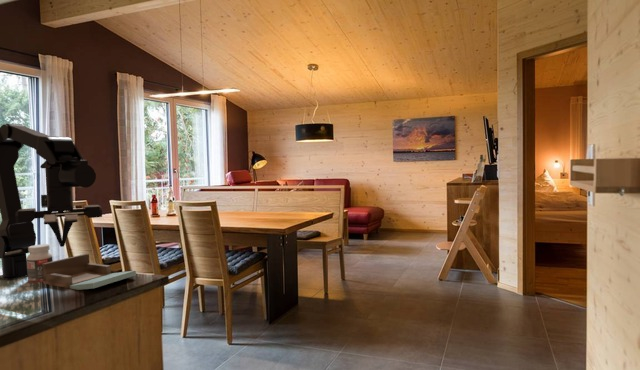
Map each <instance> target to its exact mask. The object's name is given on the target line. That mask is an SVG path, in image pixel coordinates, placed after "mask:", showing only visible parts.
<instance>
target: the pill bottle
mask: <svg viewBox="0 0 640 370" xmlns="http://www.w3.org/2000/svg"><path fill="white" fill-rule="evenodd" d="M50 249H51V247H50V244H49V243H46V244H45V243H43V244H42V243H41V244H35V245H34V246H30V247H28V251H29V252H30V253H29V254H28V255H26V258H27V273H28V276H27V283H29V284H36V283H37V284H38V283H43V270H42V264H43V263H48V262H52V261H54V260H53V254H52V253H51V252H49V250H50Z"/></svg>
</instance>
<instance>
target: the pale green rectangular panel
mask: <svg viewBox="0 0 640 370" xmlns="http://www.w3.org/2000/svg"><path fill="white" fill-rule="evenodd" d="M135 276H137V270H128V271H121V272H113V273H112V272H111V274H109V275H105V276H102V277H98V278H95V279H91V280H88V281H84V282H81V283H77V284H74V285H71V286H70V287H69V288H70V289H72V290H79V291H80V290H89V289H90V290H92V289H96V288H100V287H103V286H106V285H108V284H113V283H115V282H119V281H122V280H125V279H128V278H132V277H135Z"/></svg>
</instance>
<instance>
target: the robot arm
mask: <svg viewBox="0 0 640 370" xmlns="http://www.w3.org/2000/svg"><path fill="white" fill-rule="evenodd" d="M24 146H27V147H29V148H32V149H34V150H35V153H36V154H37V155H38V157H41V158H42V159H44V160H45V161H44V162H43V163H42V164H41V165H40V168H41V169H44V172H45V173H44V174H45V183H46V184H45V189H46V190H45V191H46V194H41V195H40V201H41V202H40V205H41V208H43V209H44V208H46V210H36V209H37V208H36V207H35V208H34V207H33V208H22V202H21V198H20V192H19V188H18V187H19V185H18V182H17V176H16V172H15V166H16V163H17V161H18V159H19V155H20V154H19V152H20V151H21V150H22V148H23V147H24ZM83 158H84V157H83V155H82V154H81V153H80V152H79V149H78V148H77V146H76V144H75V143H74V140H73V139H72V138H70V137H65V136H56V135H48V134H46V133H43V132H40V131H39V130H35V129H32V128H30V127H27V126H26V125H25V124H24V125H23V124H21V123H4V124H1V125H0V215H1V222H0V260H1V271H2V274H1V275H0V279H1V280H7V281H11V280H17V279H20V278H23V277H28V273H27V254H30V252H29V251H28V247H30V246H34V245H36V242H37V233H36V232H35V227H34V226H35V225H34V223H33V221H34V220H35V219H43V221H44V222H43V224H44V225H49V228H51V230H52V232H53V233H54V236H55V238H56V240H57V242H58V244H59V247H60V248H62V247H65V244H66V241H67V239H68V236H69V233H70V230H71V228H72V226H73V224H74V223H79V222H78V216H86V217H87V218H89V219H91V218H92V219H94V218H102V217H103V209H102V206H101V205H99V204H87V205H86V204H85V205H83V208H82V207H81V208H74V196H73V192H74V191H73V188H83V189H84V188H85V189H87V188H90V187H91V186H93V185H94V183H95V182H96V177H97V174H96V172H95V169H94V168H93V167H92V166H91V165H89V161H88V159H83ZM61 217H62V218H63V217H64V218H63V219H64V220H63V227H62V228H63V229H62V233H61V229H60V223H59V219H58V218H61Z"/></svg>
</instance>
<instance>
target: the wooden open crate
mask: <svg viewBox="0 0 640 370" xmlns="http://www.w3.org/2000/svg"><path fill="white" fill-rule="evenodd" d="M111 267H112V266H111V265H109V264H100V263H92V262H90V254H89V253H83V254H79V255H75V256H71V257H66V258H61V259H57V260H53V261H52V262H48V263H43V264H42V270H43V282H42V283H43V285H49V286H55V287H59V288H61V287H62V288H66V289H69V288H70V286H71V285H74V284H77V283H81V282H84V281H88V280H91V279H95V278H98V277H102V276H105V275H109V274H112V268H111Z"/></svg>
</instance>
